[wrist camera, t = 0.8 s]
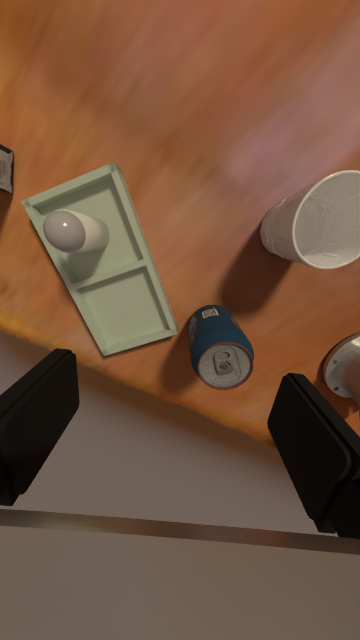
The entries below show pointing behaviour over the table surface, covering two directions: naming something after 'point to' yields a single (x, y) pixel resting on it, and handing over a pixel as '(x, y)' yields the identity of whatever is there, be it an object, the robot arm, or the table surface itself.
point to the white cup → (317, 223)
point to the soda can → (219, 348)
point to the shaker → (75, 231)
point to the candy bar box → (6, 169)
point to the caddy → (108, 263)
